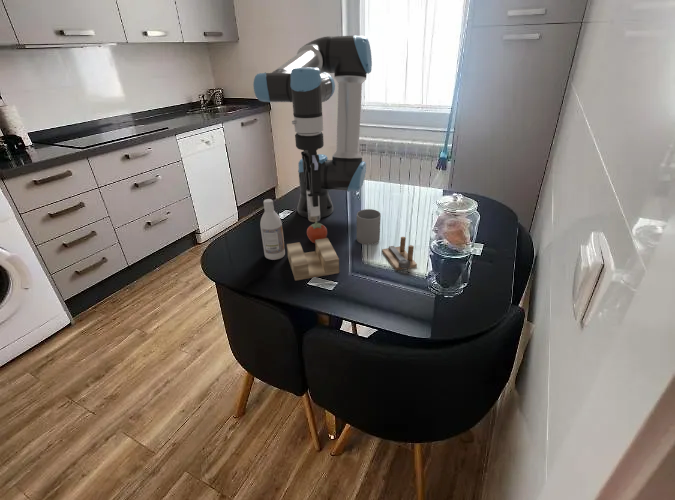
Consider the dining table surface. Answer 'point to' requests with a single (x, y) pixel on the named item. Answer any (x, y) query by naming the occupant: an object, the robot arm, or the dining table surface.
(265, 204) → the bath foam
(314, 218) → the pin
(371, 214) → the cup
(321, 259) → the slot block
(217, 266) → the dining table surface
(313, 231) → the tomato
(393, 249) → the peg rack
